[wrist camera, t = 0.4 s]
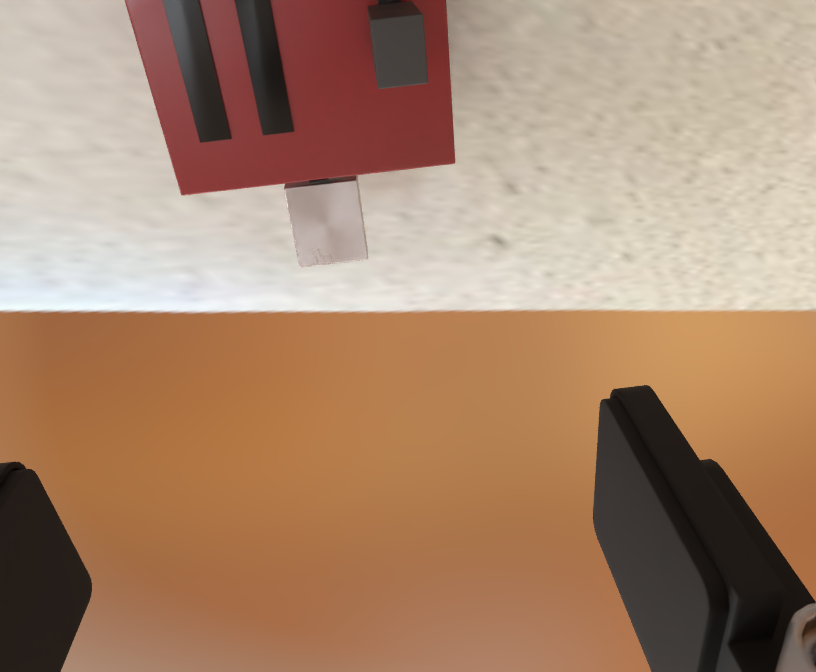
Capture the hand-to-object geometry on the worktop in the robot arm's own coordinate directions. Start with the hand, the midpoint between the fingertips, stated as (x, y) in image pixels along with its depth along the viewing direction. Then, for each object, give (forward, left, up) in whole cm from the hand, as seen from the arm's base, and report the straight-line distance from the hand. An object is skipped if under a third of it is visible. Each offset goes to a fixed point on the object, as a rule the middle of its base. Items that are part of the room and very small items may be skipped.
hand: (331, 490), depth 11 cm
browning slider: (-5, +2, -18) cm, 18 cm away
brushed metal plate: (+2, -1, -19) cm, 19 cm away
